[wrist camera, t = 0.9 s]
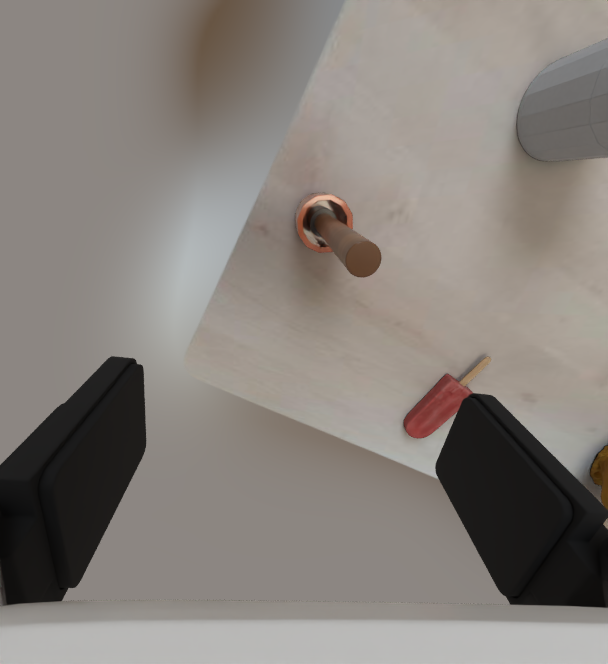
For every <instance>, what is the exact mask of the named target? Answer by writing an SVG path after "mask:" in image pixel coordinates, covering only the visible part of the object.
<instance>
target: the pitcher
mask: <svg viewBox="0 0 608 664" xmlns="http://www.w3.org/2000/svg"><path fill="white" fill-rule="evenodd" d="M592 465H593V466H592V468H591V472H590V474H591V477H592V478H593V482H594V483H595V484H598V486H599V485H601V486H602V493H601V499H602V503H603V505H604V507H605V508H606V509H607V510H608V446H605V447H604V449H603V450H602V451H601V452H599V453H598V456H596V459H595V461H594V463H593V464H592Z"/></svg>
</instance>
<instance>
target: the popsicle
mask: <svg viewBox="0 0 608 664" xmlns="http://www.w3.org/2000/svg"><path fill="white" fill-rule="evenodd" d="M490 361H491V358H490V357H486V358H484V359H483V360H482V361H481V362H480V363H479V364H478V365H477V366H476V367H475V368H474V369H473V370H472V371H470V372H469V373H468V374H467V375H466V376H465V377H464V378H463V379H462V380H461V381H460V382H459V381H457V380H456V379H455V378H453V377H452V376H450V375H449V374H446V375H445V376H444V377H443V378H442V379H441V380H440V381H439V382H438V383H437V384H436V385H435V386H434V387H433V388H432V389H431V391H430V392H429V393H428V394H427V395H426V396H425V397H424V398H423V399H422V400H421V401H420V402H419V403H418V404H417V405H416V406H415V407H414V408H413V409H412V410H411V411H410V412H409V413H408V415H407V416H406V417H405V419H404V427H405V429H406V432H407V433H408V434H409V435H410V436H411V437H413V438H424V437H427V436H429V435H430V434H432V433H433V432H434V431H435V430H436V429H438V428H439V427H440V426H441V425H442V424H443V423H445V422H446V421H447V420H448V419H449V418H450V417H451V416H453V415H454V414H455V413H456V412H457V411H458V410H459V407H460V405H461V403H462V401H463V399H464V398H467V397H468V396H469V395H470V394H473V392H472V391H471V390H470V389H469V388H468V387H466V386H465V385H466V384H467V383H468V382H470V381H471V380H472V379H473V378H474V377H475V376H476V375H477V374H478V373H479V372H480V371H481V370H482V369H483V368H484V367H486V366H487V365H488V364H489V363H490Z"/></svg>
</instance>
